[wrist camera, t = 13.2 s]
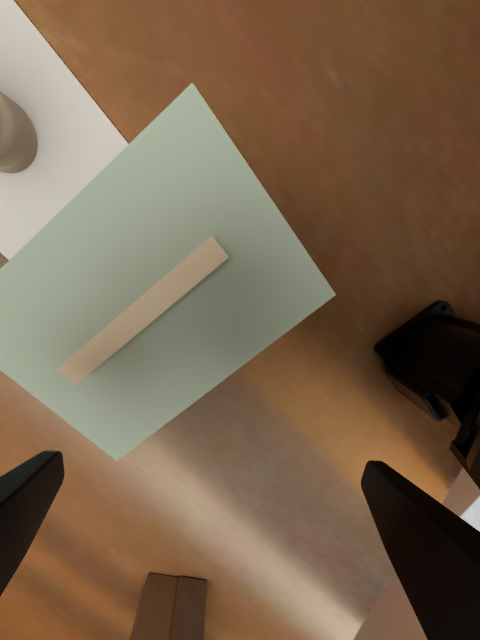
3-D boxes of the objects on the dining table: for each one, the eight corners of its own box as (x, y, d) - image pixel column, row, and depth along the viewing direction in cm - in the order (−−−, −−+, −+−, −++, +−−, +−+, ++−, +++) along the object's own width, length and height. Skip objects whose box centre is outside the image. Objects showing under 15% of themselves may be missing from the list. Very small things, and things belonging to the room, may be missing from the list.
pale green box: (132, 40, 13) (55, -140, 7) (304, 283, 18) (347, 298, 12) (-123, 305, 16) (-334, 337, 10) (80, 457, 21) (20, 544, 15)
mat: (-18, -40, 12) (-24, -47, 12) (138, 156, 15) (137, 154, 15) (-145, 114, 13) (-153, 111, 13) (21, 268, 16) (18, 268, 16)
